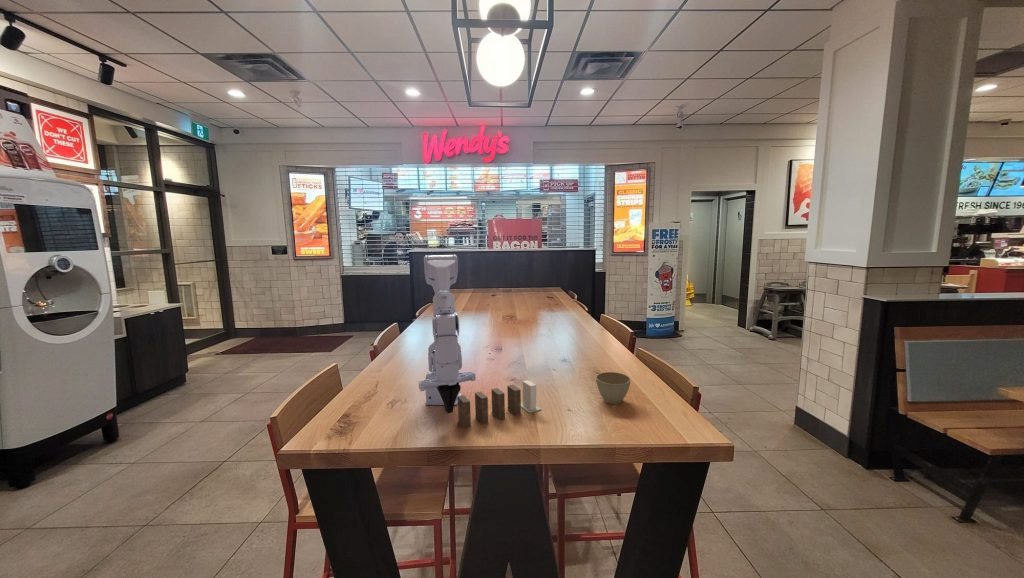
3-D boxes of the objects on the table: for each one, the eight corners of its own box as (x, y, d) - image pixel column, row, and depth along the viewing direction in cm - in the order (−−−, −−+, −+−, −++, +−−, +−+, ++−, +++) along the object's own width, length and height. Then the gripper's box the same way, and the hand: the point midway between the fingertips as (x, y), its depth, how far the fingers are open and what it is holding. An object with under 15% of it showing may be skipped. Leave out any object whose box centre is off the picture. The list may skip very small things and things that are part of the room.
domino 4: (515, 415, 107) (514, 390, 106) (507, 409, 111) (507, 385, 110) (520, 413, 108) (520, 389, 107) (513, 407, 112) (512, 384, 111)
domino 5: (530, 409, 109) (530, 386, 108) (522, 404, 113) (522, 381, 112) (536, 408, 110) (536, 384, 109) (528, 402, 114) (527, 380, 113)
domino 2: (482, 423, 102) (481, 398, 101) (475, 417, 106) (474, 392, 105) (488, 422, 103) (487, 397, 102) (481, 415, 107) (480, 391, 106)
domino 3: (499, 419, 105) (498, 394, 104) (492, 413, 109) (491, 389, 108) (504, 417, 106) (504, 393, 105) (497, 411, 109) (497, 387, 108)
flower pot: (589, 401, 115) (589, 378, 114) (606, 391, 122) (606, 369, 121) (620, 411, 108) (620, 386, 107) (636, 400, 116) (636, 377, 115)
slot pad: (529, 413, 108) (529, 412, 108) (517, 404, 114) (517, 403, 114) (541, 409, 110) (541, 408, 110) (529, 401, 115) (529, 400, 115)
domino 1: (464, 428, 100) (463, 402, 99) (458, 421, 104) (457, 396, 103) (470, 426, 101) (470, 401, 100) (464, 419, 105) (463, 395, 104)
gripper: (423, 370, 91) (425, 424, 93) (479, 360, 98) (481, 411, 100) (415, 362, 97) (418, 413, 99) (469, 353, 104) (470, 401, 106)
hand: (449, 411), depth 100 cm, fingers closed
